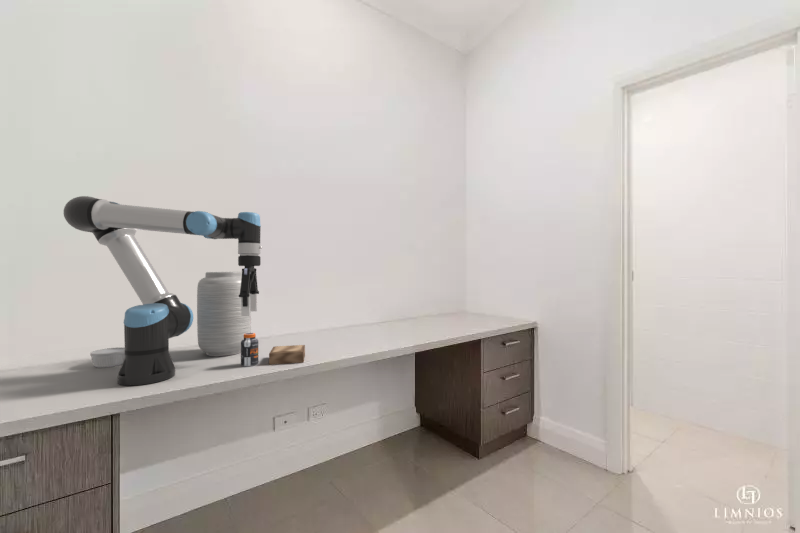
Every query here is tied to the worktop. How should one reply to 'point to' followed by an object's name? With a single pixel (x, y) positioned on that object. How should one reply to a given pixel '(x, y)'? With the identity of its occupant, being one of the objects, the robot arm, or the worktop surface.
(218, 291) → the vase
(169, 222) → the robot arm
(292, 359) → the plinth
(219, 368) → the worktop surface
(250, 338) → the pill bottle
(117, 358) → the ramekin
